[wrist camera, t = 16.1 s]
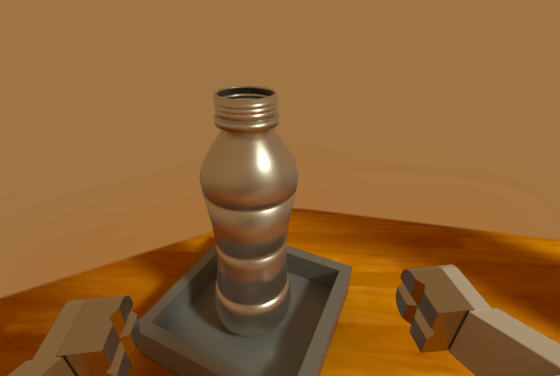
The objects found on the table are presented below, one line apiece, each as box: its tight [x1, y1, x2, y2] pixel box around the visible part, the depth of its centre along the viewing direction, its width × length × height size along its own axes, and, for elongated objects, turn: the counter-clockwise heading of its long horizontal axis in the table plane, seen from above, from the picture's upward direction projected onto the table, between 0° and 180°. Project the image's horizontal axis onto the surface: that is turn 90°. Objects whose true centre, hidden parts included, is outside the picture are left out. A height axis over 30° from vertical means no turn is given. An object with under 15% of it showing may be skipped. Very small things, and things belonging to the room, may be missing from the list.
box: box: [138, 243, 352, 376], centre depth 27 cm, size 14×14×4 cm
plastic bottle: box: [200, 86, 298, 337], centre depth 23 cm, size 6×7×20 cm
